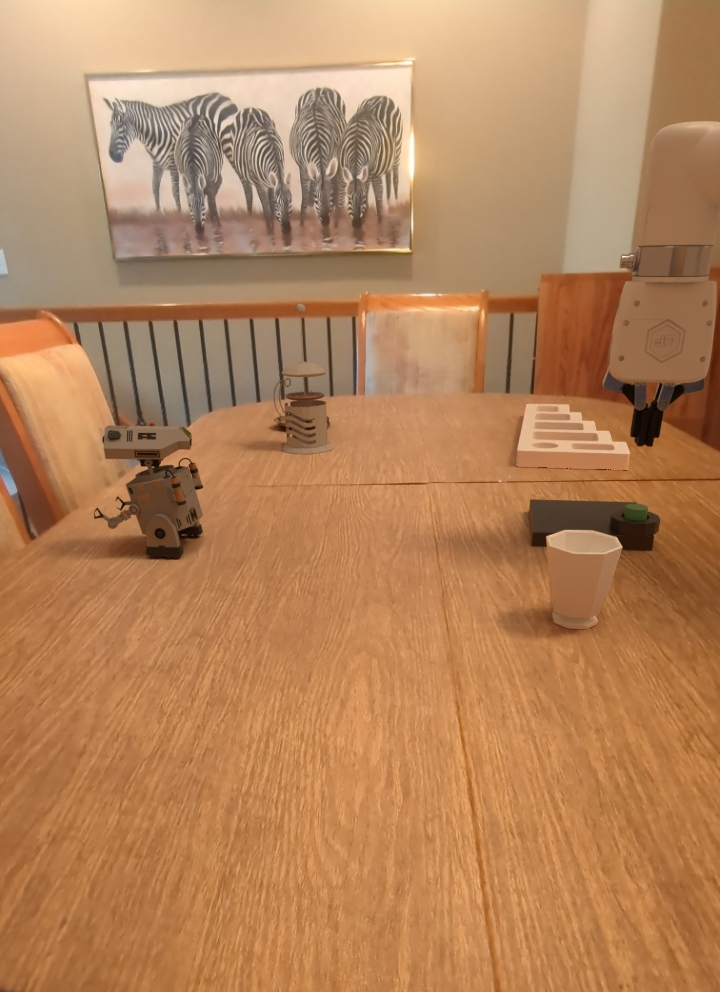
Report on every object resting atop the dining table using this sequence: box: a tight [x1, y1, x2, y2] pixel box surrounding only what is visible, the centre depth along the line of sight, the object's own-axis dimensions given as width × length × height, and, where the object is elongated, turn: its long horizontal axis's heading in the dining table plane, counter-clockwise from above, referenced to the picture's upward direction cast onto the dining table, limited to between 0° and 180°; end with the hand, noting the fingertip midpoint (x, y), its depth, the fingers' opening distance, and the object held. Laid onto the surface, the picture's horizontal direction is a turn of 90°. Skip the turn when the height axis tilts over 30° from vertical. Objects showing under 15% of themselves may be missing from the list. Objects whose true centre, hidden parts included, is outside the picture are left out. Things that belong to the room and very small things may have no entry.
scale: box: [528, 498, 661, 552], centre depth 96 cm, size 15×14×4 cm
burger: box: [273, 389, 331, 430], centre depth 159 cm, size 12×12×8 cm
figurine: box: [93, 422, 204, 560], centre depth 92 cm, size 9×12×15 cm
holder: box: [515, 403, 631, 471], centre depth 144 cm, size 45×18×3 cm, turn 167°
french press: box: [272, 303, 334, 455], centre depth 138 cm, size 10×12×25 cm
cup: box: [546, 530, 623, 630], centre depth 73 cm, size 7×10×8 cm
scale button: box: [624, 503, 649, 521], centre depth 90 cm, size 3×3×2 cm
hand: (643, 443), depth 87 cm, fingers closed
